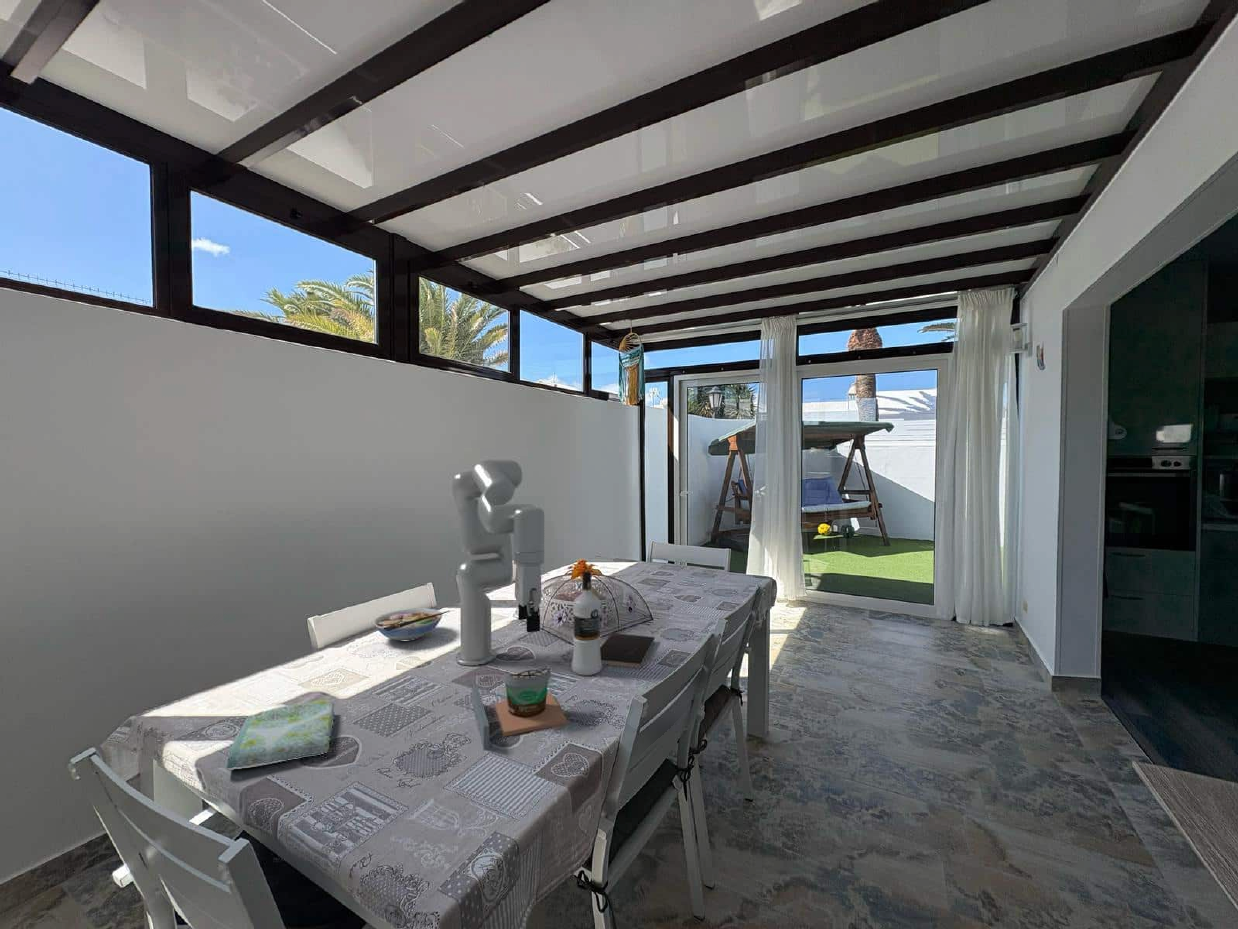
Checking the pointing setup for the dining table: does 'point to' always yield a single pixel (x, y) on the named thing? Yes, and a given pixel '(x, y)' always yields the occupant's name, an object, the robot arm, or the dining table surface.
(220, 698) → the dining table surface
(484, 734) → the acrylic wall
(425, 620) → the ramen bowl
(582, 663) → the vodka
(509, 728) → the mat
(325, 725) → the towel
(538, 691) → the food container
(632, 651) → the hardcover book
